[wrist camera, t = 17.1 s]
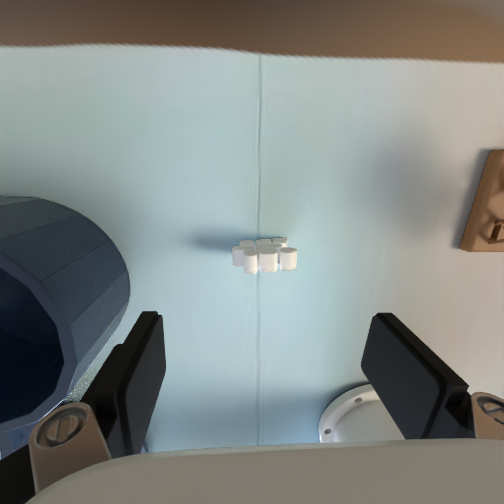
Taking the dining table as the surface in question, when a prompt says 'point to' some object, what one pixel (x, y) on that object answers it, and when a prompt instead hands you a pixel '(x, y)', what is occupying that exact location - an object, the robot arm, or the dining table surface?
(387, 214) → the dining table surface
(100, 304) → the pot
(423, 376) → the robot arm
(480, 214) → the brown upright openwork piece
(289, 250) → the white marshmallow cluster
